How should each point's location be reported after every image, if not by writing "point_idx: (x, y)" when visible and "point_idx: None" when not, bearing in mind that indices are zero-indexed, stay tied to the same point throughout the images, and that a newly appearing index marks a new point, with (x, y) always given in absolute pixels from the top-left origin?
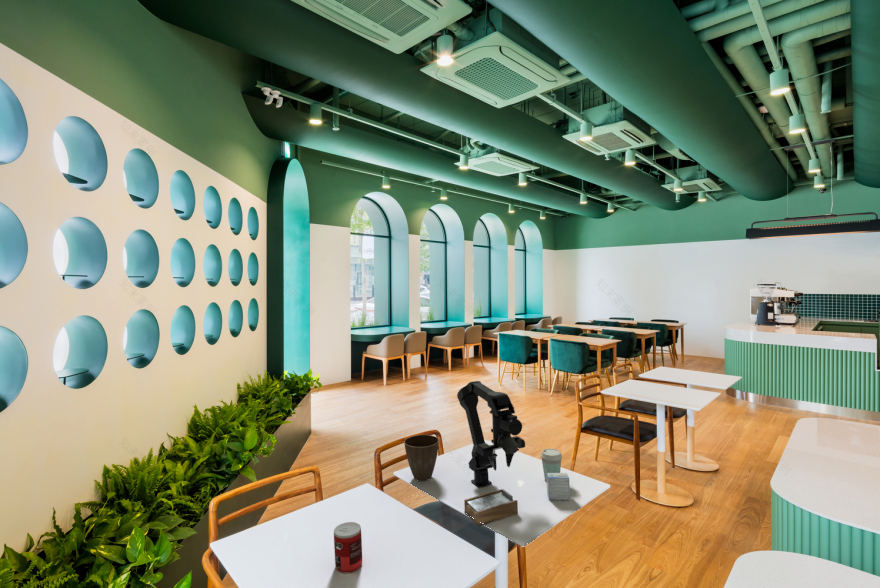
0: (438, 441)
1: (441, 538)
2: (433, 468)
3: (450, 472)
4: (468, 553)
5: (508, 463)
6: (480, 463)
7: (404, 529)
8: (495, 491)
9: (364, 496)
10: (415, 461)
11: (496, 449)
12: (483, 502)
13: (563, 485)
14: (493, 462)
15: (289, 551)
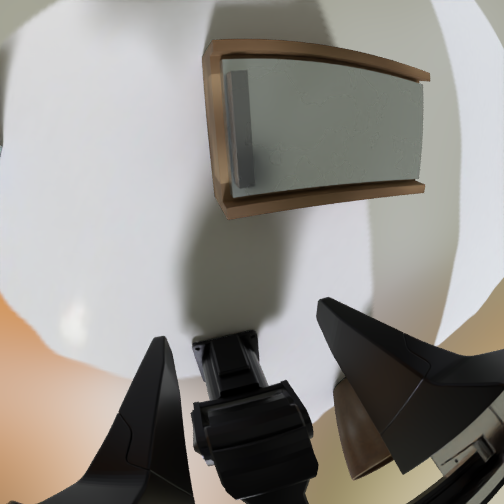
0: (372, 466)
1: (465, 97)
2: (352, 399)
3: None
4: (440, 9)
5: (167, 367)
6: (290, 409)
7: (485, 179)
8: (278, 205)
9: (454, 317)
10: None
11: (433, 490)
12: (379, 134)
13: None
14: (409, 339)
15: None
